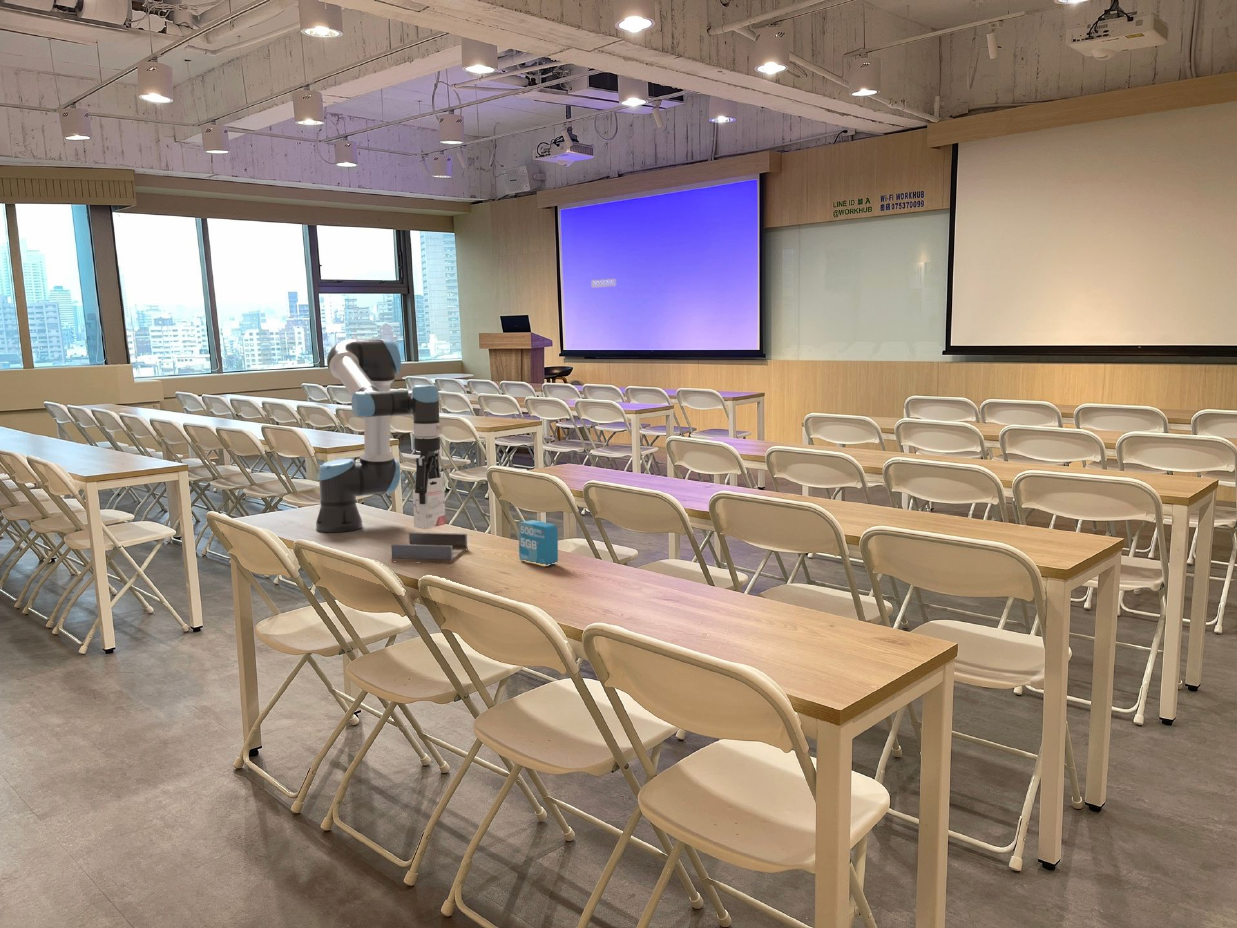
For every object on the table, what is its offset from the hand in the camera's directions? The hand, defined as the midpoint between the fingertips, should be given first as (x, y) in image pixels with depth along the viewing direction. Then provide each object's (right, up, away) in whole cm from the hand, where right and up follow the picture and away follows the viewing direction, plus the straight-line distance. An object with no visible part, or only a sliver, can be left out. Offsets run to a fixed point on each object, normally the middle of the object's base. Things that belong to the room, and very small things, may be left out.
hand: (429, 511), depth 268 cm
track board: (0, -14, +2) cm, 14 cm away
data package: (+33, -15, -7) cm, 37 cm away
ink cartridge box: (0, -5, +1) cm, 5 cm away
